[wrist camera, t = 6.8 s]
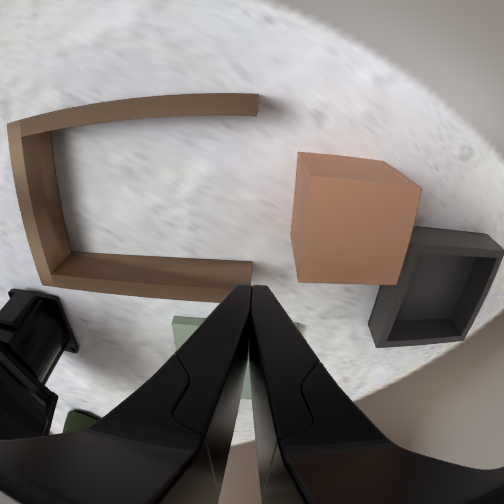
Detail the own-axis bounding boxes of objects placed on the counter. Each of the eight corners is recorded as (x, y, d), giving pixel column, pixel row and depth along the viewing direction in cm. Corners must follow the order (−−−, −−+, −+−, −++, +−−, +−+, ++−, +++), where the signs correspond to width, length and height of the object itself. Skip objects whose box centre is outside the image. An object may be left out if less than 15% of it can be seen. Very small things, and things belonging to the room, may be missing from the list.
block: (368, 238, 18) (396, 285, 14) (290, 234, 18) (298, 282, 14) (383, 160, 16) (422, 188, 12) (297, 151, 16) (311, 175, 12)
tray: (451, 320, 22) (463, 340, 19) (367, 324, 22) (376, 347, 20) (486, 234, 18) (505, 250, 15) (396, 224, 18) (412, 243, 15)
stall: (251, 274, 20) (249, 304, 17) (62, 262, 20) (42, 285, 17) (258, 94, 14) (257, 93, 12) (36, 115, 15) (6, 123, 12)
